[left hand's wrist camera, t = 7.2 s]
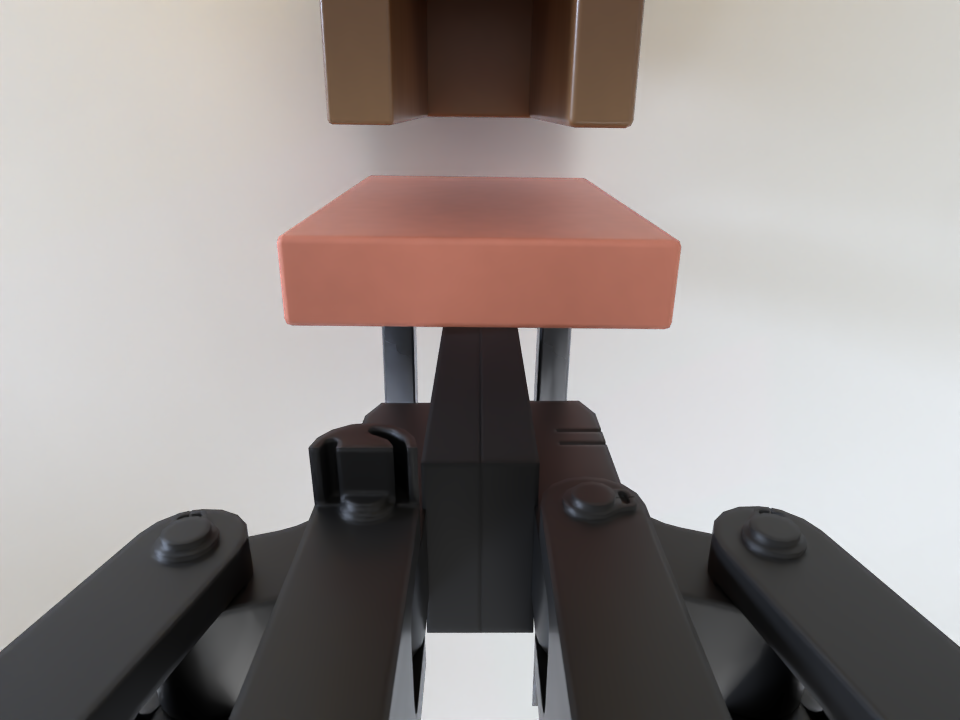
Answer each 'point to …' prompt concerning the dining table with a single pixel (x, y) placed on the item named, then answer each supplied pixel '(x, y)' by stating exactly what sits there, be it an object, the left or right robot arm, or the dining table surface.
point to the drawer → (479, 185)
